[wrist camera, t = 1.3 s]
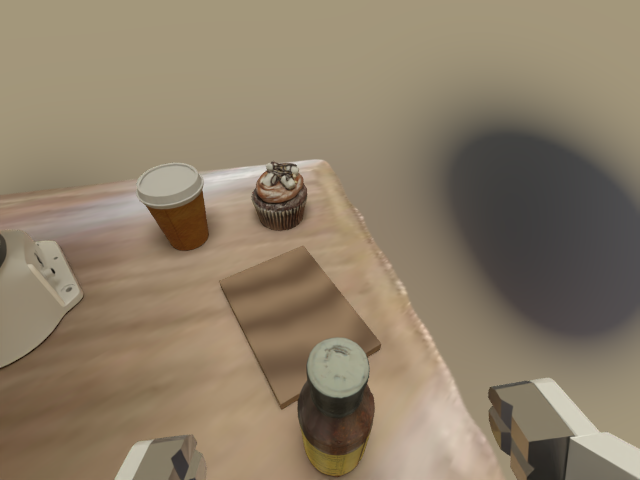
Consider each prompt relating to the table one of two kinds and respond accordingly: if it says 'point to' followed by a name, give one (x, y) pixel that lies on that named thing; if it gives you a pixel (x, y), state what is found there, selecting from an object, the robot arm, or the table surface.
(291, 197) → the cupcake
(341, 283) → the table surface
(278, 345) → the walnut board
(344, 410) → the sauce bottle
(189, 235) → the disposable coffee cup
